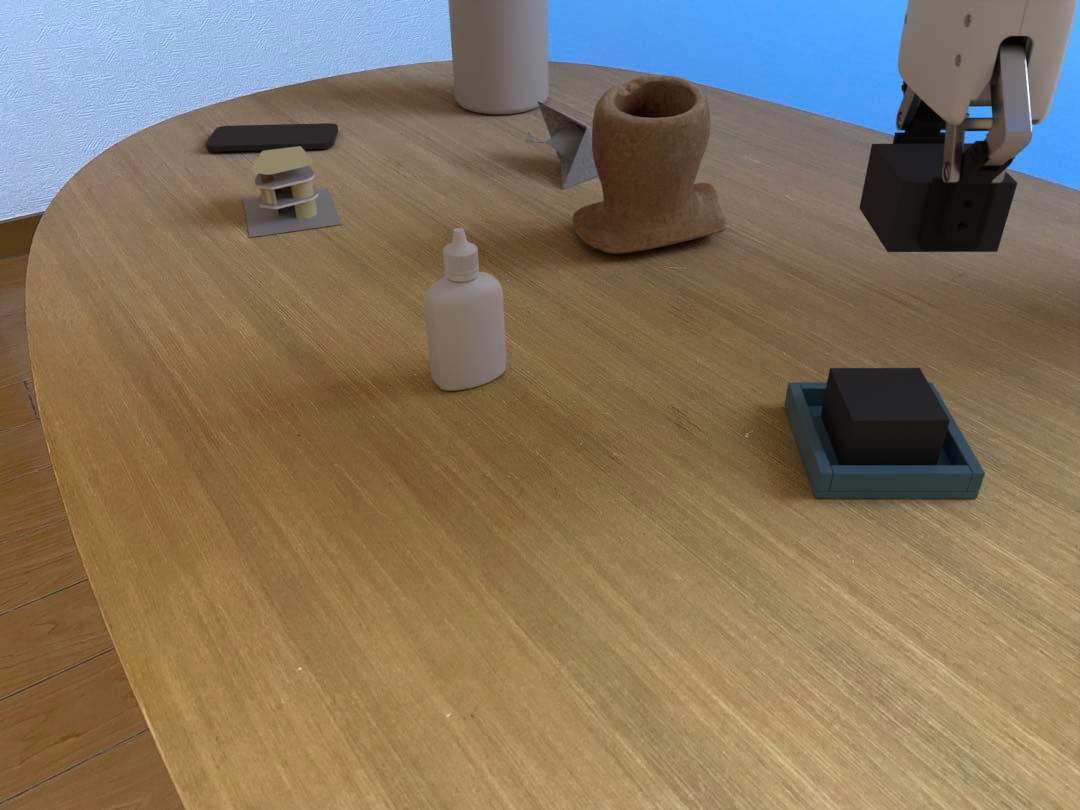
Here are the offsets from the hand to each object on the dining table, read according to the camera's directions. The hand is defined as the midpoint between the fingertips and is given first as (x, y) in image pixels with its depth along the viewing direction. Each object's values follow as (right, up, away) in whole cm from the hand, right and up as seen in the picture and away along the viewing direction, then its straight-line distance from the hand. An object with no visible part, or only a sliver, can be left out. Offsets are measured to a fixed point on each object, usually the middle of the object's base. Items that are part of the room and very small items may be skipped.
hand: (928, 219), depth 53 cm
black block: (0, -1, 0) cm, 1 cm away
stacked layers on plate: (-48, +9, +44) cm, 65 cm away
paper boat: (-20, +16, +52) cm, 58 cm away
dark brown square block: (0, -13, +9) cm, 16 cm away
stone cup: (-11, +5, +37) cm, 39 cm away
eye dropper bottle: (-28, -9, +18) cm, 34 cm away
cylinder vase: (-27, +30, +72) cm, 83 cm away
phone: (-55, +21, +61) cm, 84 cm away
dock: (0, -14, +10) cm, 17 cm away
